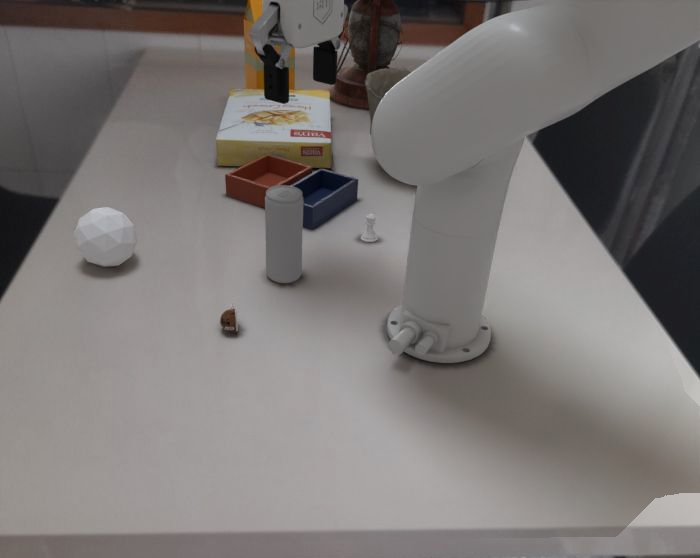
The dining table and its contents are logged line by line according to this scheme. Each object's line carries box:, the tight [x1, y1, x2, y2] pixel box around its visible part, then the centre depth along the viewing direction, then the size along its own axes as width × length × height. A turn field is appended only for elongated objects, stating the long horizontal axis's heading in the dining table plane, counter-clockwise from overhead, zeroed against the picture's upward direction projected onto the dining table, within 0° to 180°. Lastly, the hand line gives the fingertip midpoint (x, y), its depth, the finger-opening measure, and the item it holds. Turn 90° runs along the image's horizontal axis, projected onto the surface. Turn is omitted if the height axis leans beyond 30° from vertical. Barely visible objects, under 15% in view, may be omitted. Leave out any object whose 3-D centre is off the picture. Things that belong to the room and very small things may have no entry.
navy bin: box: [290, 168, 359, 230], centre depth 113 cm, size 13×7×4 cm, turn 149°
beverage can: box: [264, 185, 304, 284], centre depth 93 cm, size 5×5×12 cm
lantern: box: [328, 0, 404, 111], centre depth 152 cm, size 19×19×30 cm
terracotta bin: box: [224, 154, 313, 209], centre depth 117 cm, size 11×9×4 cm
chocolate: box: [219, 299, 239, 334], centre depth 85 cm, size 3×2×4 cm
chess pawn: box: [360, 213, 379, 243], centre depth 105 cm, size 3×2×4 cm
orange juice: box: [243, 0, 296, 90], centre depth 153 cm, size 8×9×20 cm
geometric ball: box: [73, 206, 138, 268], centre depth 95 cm, size 8×8×8 cm
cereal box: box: [215, 88, 333, 169], centre depth 135 cm, size 20×6×28 cm
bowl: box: [365, 67, 412, 136], centre depth 125 cm, size 22×22×15 cm
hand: (301, 91), depth 86 cm, fingers open, 9 cm apart
